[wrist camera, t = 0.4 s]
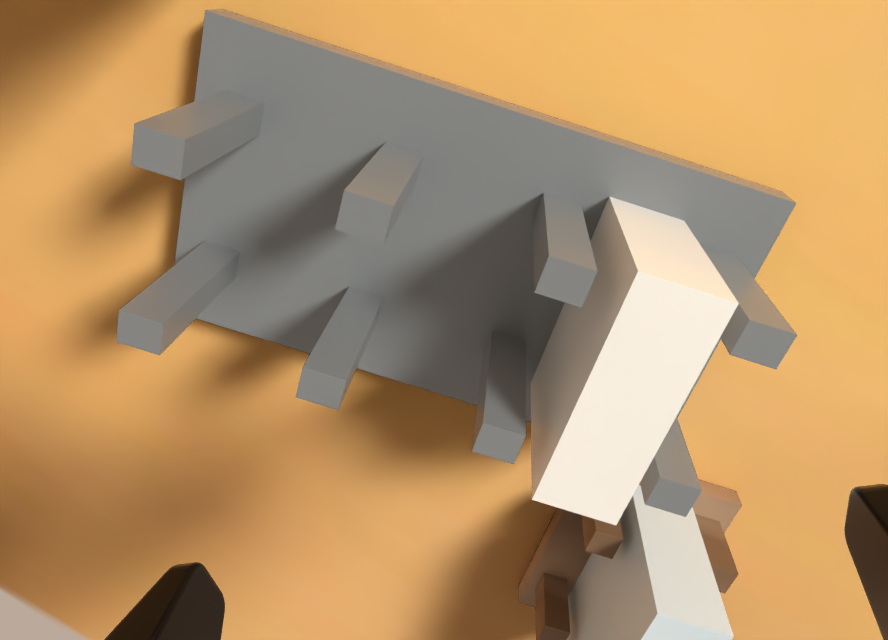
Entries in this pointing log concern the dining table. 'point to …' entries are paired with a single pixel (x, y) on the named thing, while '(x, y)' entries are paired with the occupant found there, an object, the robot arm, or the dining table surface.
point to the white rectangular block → (623, 361)
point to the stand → (611, 556)
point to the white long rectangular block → (650, 583)
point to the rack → (417, 229)
